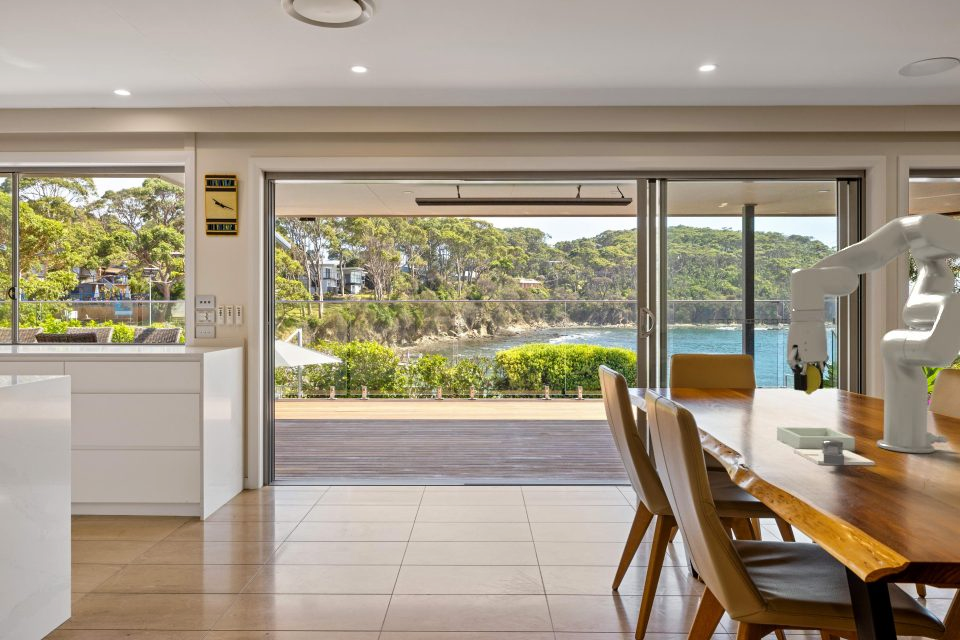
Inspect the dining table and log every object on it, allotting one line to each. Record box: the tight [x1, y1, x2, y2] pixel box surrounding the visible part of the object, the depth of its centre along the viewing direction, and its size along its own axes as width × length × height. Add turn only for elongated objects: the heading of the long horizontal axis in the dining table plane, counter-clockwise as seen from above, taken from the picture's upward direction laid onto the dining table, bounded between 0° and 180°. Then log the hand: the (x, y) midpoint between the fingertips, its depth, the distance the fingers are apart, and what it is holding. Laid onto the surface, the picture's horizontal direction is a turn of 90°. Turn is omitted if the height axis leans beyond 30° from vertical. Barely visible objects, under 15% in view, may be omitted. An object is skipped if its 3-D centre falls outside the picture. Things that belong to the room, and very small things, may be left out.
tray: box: [776, 426, 856, 452], centre depth 172 cm, size 14×14×4 cm
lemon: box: [800, 363, 821, 395], centre depth 159 cm, size 6×6×8 cm
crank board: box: [793, 448, 876, 466], centre depth 156 cm, size 13×13×1 cm
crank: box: [822, 440, 845, 466], centre depth 150 cm, size 17×4×3 cm, turn 152°
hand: (808, 388), depth 159 cm, fingers closed on lemon, 5 cm apart
